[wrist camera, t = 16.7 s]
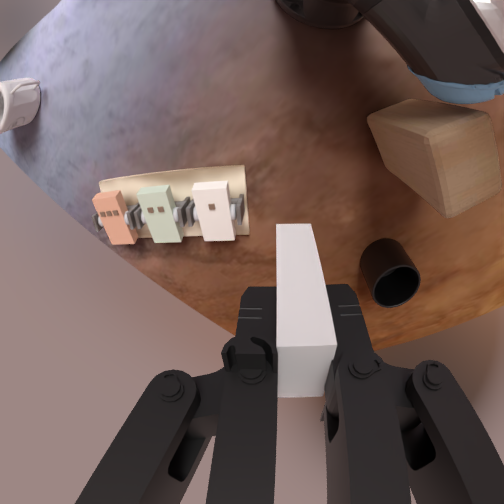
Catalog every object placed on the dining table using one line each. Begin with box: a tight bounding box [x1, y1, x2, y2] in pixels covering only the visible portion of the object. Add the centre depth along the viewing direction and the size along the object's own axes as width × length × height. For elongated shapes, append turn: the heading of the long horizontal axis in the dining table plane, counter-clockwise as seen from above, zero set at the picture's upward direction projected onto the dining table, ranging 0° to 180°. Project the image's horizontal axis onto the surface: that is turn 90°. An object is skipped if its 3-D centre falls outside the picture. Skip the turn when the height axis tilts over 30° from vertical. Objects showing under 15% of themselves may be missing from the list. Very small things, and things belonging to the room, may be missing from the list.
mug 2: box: [360, 239, 421, 308], centre depth 46 cm, size 9×12×9 cm
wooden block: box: [367, 99, 502, 218], centre depth 29 cm, size 10×10×20 cm
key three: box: [92, 190, 138, 245], centre depth 43 cm, size 10×6×2 cm, turn 4°
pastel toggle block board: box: [92, 165, 250, 238], centre depth 44 cm, size 12×27×6 cm, turn 93°
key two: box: [136, 185, 184, 243], centre depth 43 cm, size 10×6×2 cm, turn 4°
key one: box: [191, 181, 237, 241], centre depth 42 cm, size 10×6×2 cm, turn 4°
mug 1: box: [0, 78, 40, 134], centre depth 31 cm, size 14×11×10 cm
